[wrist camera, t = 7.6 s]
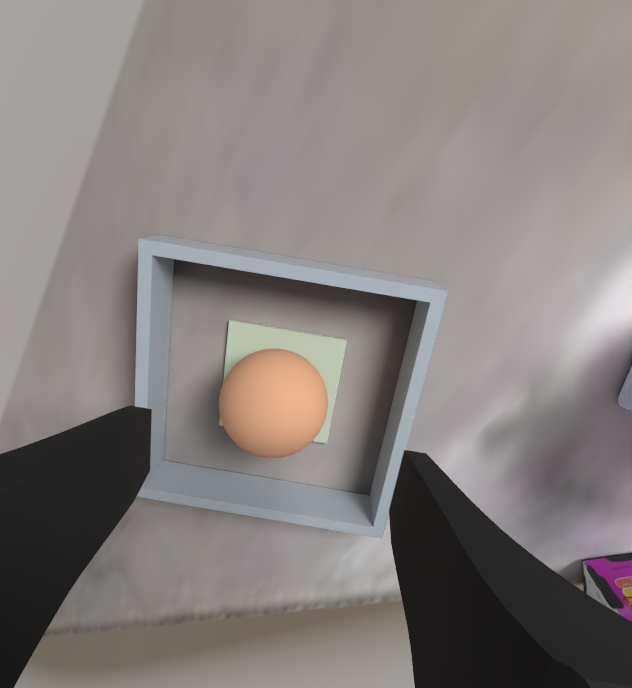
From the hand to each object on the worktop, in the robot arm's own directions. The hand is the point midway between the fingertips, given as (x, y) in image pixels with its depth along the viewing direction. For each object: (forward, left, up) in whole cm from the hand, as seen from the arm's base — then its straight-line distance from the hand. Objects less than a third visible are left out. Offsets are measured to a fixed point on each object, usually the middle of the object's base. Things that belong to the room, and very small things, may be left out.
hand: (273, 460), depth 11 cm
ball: (+1, +2, -10) cm, 10 cm away
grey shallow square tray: (+1, +2, -10) cm, 10 cm away
